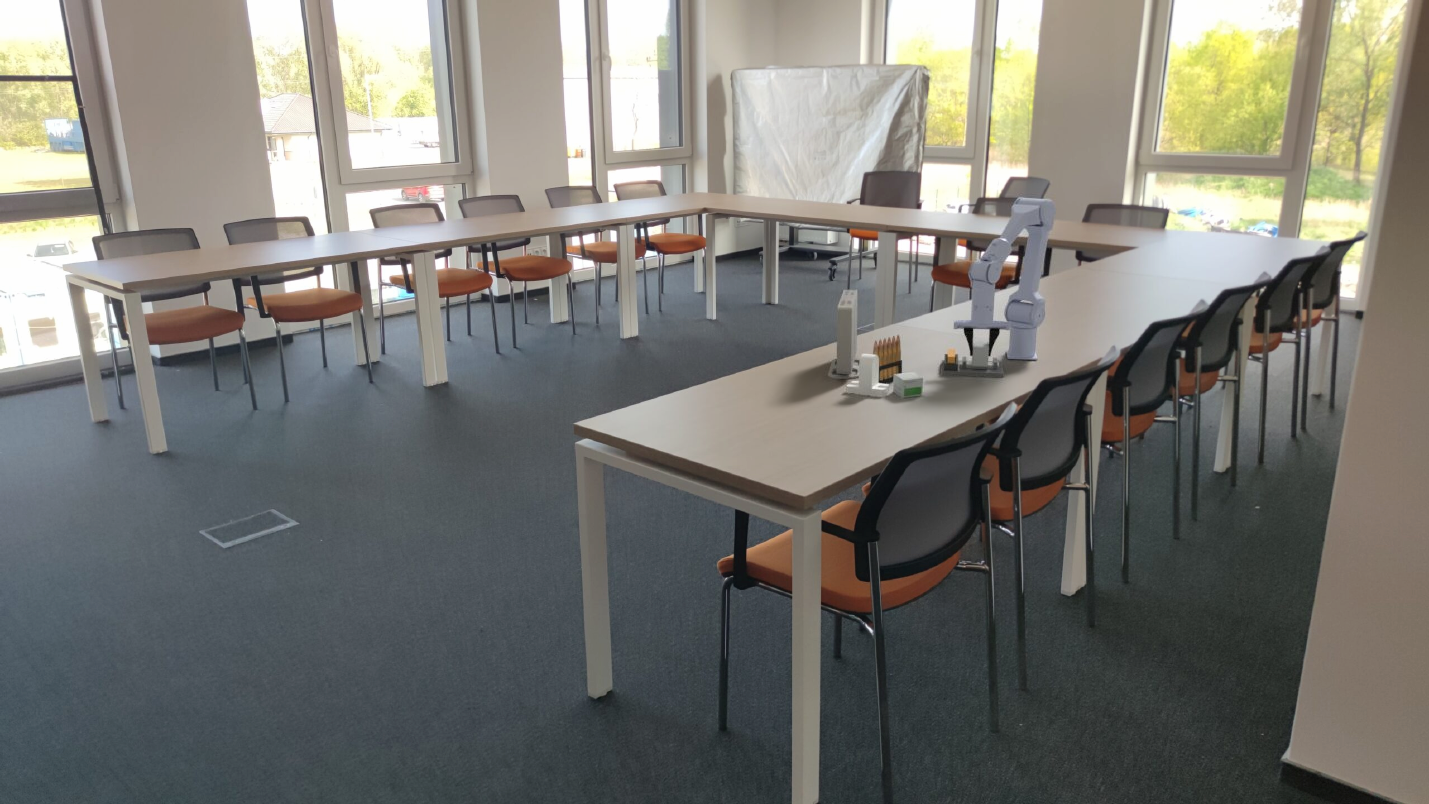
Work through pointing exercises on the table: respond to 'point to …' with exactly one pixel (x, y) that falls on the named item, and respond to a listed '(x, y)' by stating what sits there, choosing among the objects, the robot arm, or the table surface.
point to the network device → (846, 337)
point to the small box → (908, 384)
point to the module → (980, 355)
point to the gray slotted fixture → (966, 364)
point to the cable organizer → (868, 378)
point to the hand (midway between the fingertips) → (980, 355)
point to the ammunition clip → (888, 358)
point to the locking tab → (951, 356)
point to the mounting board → (974, 371)
